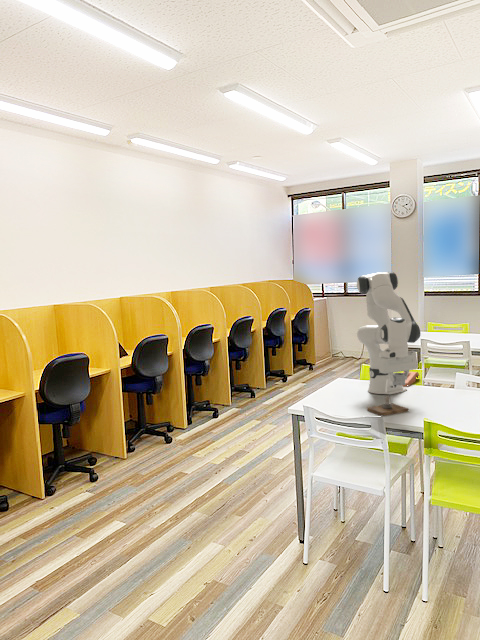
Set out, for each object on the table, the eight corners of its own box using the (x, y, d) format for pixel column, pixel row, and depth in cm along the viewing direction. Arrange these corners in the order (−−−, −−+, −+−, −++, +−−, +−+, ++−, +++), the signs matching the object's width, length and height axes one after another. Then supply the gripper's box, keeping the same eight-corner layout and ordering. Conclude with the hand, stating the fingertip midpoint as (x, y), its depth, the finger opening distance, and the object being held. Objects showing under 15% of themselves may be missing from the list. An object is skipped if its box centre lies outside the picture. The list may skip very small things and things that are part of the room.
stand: (392, 406, 256) (392, 392, 255) (408, 411, 245) (407, 396, 244) (367, 410, 250) (366, 396, 250) (382, 415, 239) (381, 400, 238)
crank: (406, 382, 312) (406, 370, 311) (419, 383, 306) (419, 371, 306) (394, 388, 296) (394, 375, 296) (407, 389, 291) (407, 376, 291)
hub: (399, 382, 235) (399, 372, 235) (407, 384, 230) (407, 374, 230) (390, 383, 233) (390, 373, 233) (398, 385, 228) (397, 375, 228)
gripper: (411, 348, 237) (411, 376, 238) (376, 353, 230) (377, 382, 231) (420, 350, 231) (420, 379, 232) (385, 355, 224) (385, 384, 225)
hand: (398, 380), depth 232 cm, fingers closed on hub, 6 cm apart
